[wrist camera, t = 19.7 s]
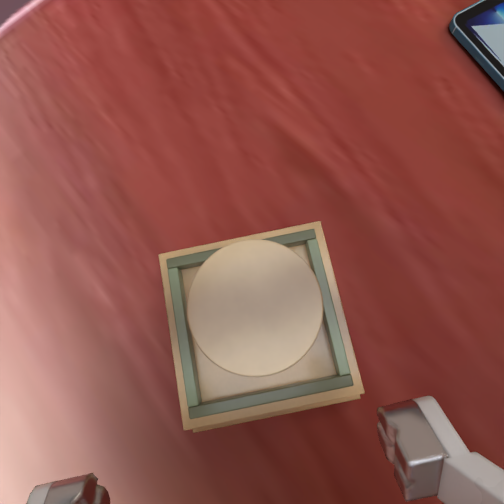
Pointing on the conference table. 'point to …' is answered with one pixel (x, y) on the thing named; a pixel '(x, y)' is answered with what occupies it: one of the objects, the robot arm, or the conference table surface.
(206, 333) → the beige banded cylinder
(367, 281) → the conference table surface
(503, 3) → the smartphone
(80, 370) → the conference table surface
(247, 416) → the stand
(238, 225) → the conference table surface
